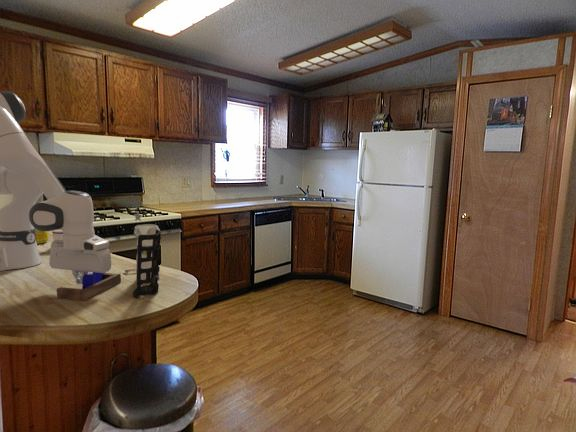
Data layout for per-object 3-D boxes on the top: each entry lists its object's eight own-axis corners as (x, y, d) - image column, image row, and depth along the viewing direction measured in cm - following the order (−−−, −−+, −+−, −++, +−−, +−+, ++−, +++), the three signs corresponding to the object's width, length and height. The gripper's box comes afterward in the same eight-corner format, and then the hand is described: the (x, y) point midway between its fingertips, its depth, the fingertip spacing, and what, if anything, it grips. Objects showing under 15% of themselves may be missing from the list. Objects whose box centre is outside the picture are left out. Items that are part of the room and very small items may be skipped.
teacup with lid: (79, 248, 180) (77, 224, 179) (57, 252, 173) (56, 226, 172) (68, 245, 188) (67, 221, 186) (47, 248, 181) (46, 223, 179)
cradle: (57, 298, 117) (56, 288, 116) (96, 280, 134) (95, 272, 134) (84, 300, 115) (84, 291, 115) (120, 282, 133) (120, 273, 132)
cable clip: (89, 281, 131) (90, 264, 131) (103, 282, 132) (104, 265, 132) (76, 293, 120) (78, 275, 119) (92, 294, 121) (93, 276, 120)
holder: (139, 285, 129) (142, 227, 126) (162, 287, 129) (166, 229, 126) (128, 297, 118) (132, 234, 115) (153, 299, 118) (157, 237, 115)
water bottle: (159, 282, 133) (156, 211, 129) (133, 283, 132) (130, 211, 128) (162, 275, 141) (160, 208, 137) (138, 276, 140) (135, 208, 136)
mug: (17, 244, 188) (15, 220, 186) (37, 240, 198) (35, 217, 196) (37, 246, 184) (35, 221, 182) (57, 242, 194) (55, 218, 193)
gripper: (43, 241, 121) (45, 283, 123) (100, 246, 117) (102, 289, 119) (58, 237, 127) (60, 277, 129) (113, 242, 124) (114, 283, 125)
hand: (80, 283), depth 124 cm, fingers closed, pressing on cable clip
